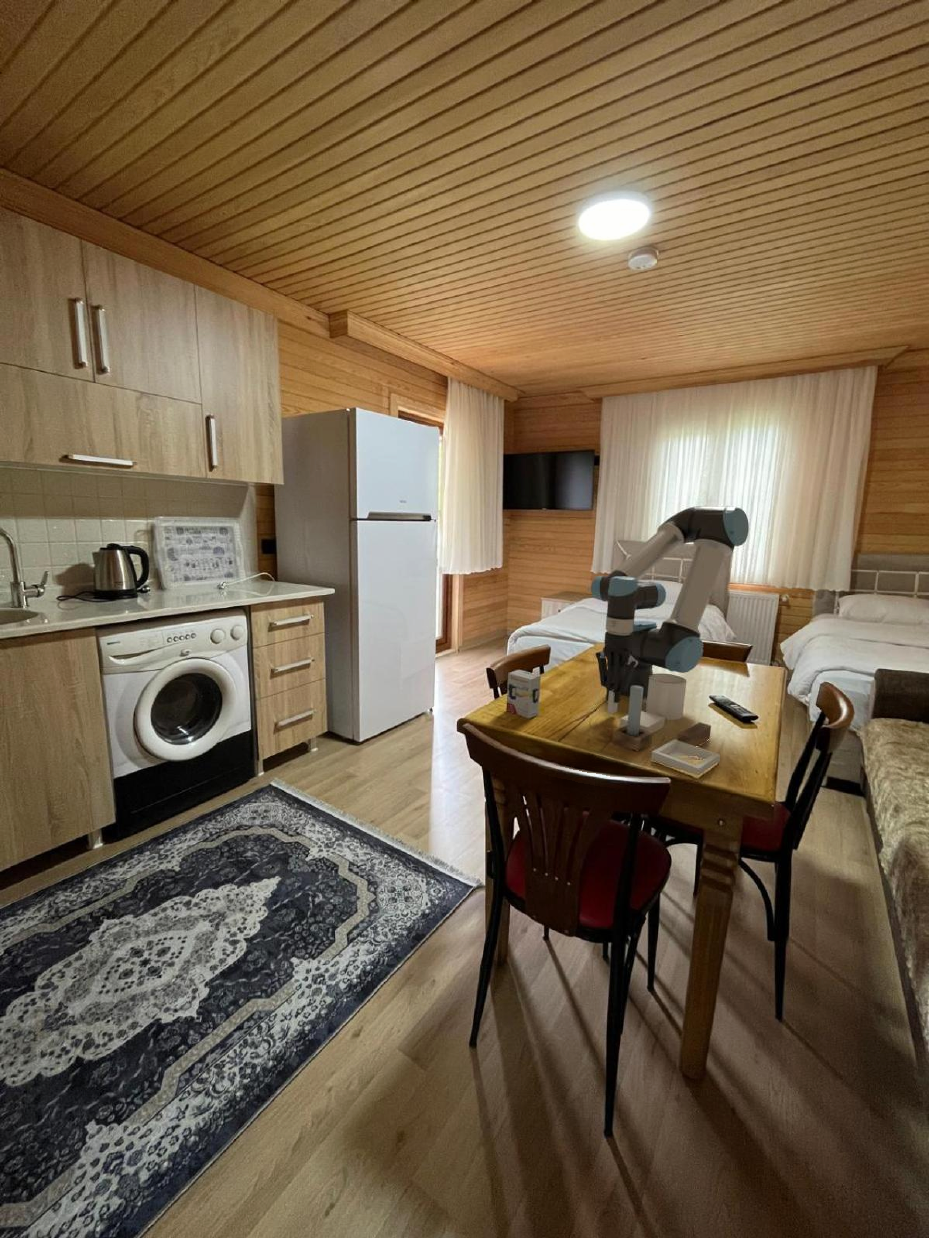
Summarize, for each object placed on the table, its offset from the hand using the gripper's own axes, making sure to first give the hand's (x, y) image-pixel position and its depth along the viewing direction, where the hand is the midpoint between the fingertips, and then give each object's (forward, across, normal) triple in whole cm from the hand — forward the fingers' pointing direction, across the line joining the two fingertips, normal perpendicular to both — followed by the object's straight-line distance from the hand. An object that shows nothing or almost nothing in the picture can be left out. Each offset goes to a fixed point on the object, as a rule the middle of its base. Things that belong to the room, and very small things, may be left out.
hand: (612, 711), depth 154 cm
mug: (+2, +8, +14) cm, 17 cm away
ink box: (+2, -18, -18) cm, 26 cm away
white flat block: (+2, +10, 0) cm, 10 cm away
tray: (+2, +28, -12) cm, 30 cm away
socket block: (+2, +14, -12) cm, 18 cm away
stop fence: (+1, +24, 0) cm, 24 cm away
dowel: (+2, +14, -12) cm, 18 cm away
